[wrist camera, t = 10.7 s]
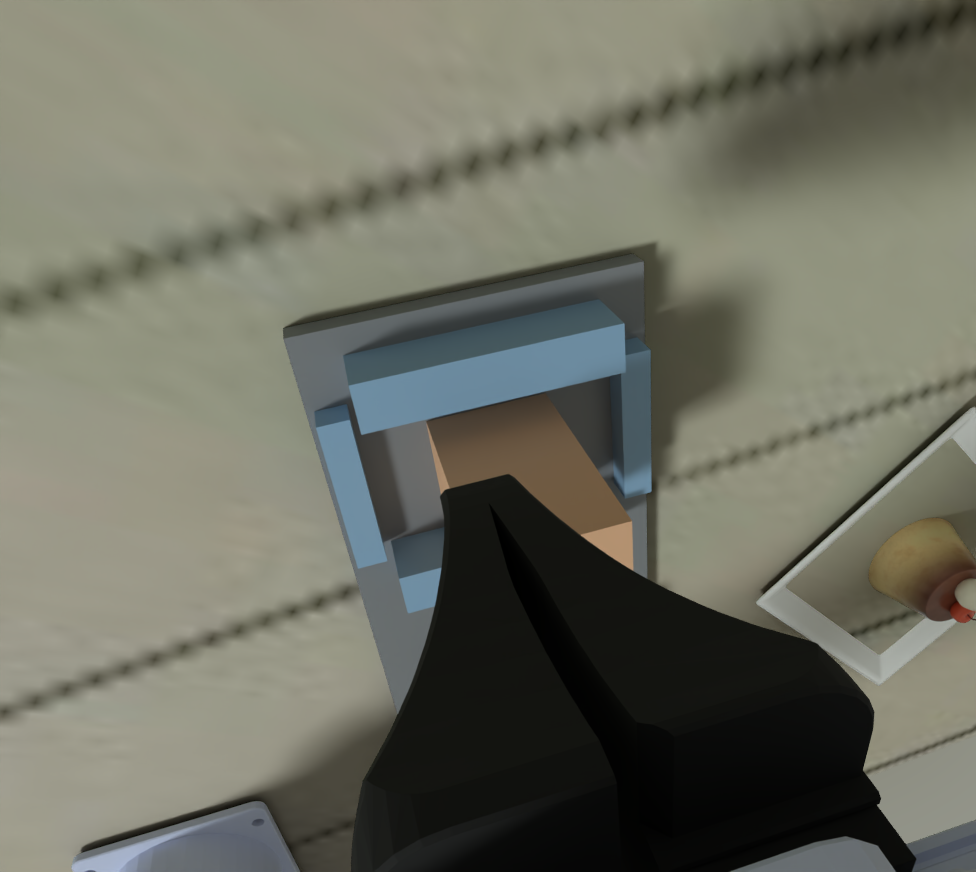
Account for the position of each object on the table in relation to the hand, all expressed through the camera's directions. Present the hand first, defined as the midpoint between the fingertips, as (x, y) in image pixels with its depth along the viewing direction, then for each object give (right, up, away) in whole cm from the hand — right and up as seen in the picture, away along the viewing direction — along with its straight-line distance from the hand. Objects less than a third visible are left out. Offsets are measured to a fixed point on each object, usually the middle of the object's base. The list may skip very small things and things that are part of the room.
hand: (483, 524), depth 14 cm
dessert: (+20, -4, +21) cm, 29 cm away
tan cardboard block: (0, +1, +11) cm, 11 cm away
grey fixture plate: (+1, -4, +15) cm, 16 cm away
